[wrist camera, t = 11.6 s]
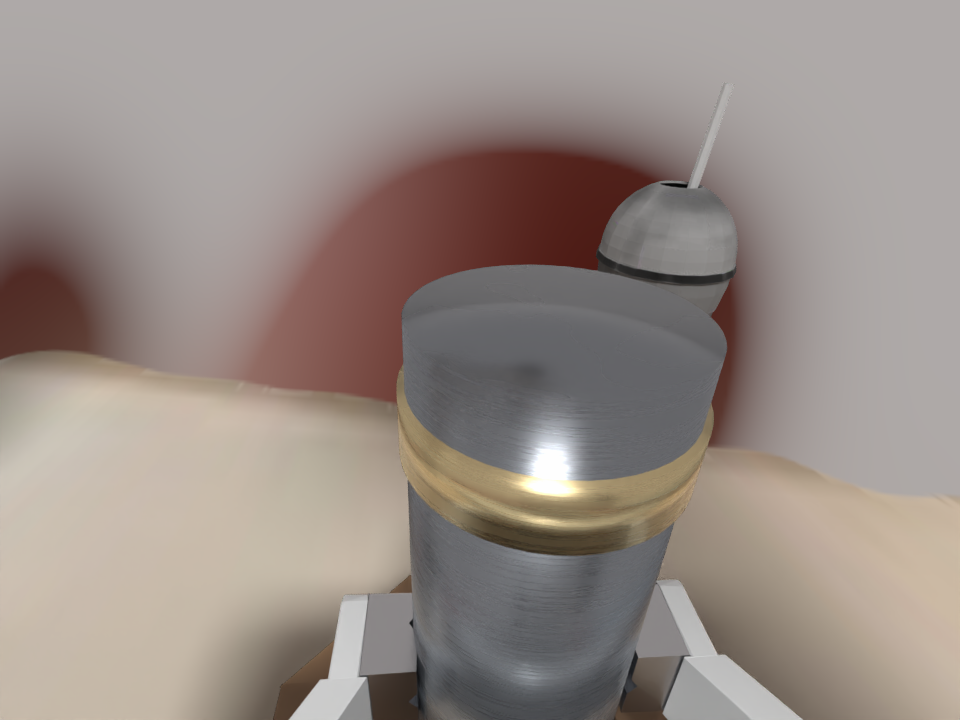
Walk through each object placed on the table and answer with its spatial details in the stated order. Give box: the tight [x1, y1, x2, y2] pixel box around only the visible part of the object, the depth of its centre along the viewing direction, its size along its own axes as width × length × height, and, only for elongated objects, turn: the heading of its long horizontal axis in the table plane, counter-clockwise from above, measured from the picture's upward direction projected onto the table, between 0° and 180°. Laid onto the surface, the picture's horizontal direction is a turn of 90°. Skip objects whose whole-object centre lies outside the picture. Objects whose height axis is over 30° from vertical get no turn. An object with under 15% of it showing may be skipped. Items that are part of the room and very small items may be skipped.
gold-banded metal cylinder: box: [397, 265, 727, 720], centre depth 10 cm, size 4×4×16 cm
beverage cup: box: [596, 83, 738, 317], centre depth 28 cm, size 7×7×20 cm
